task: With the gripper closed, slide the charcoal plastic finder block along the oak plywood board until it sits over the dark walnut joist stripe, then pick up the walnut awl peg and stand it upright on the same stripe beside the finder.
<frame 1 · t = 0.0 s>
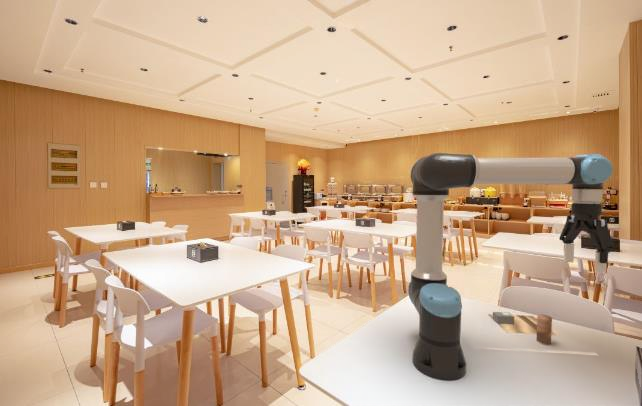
hand: (583, 267, 100), 28 cm above the table, fingers open, 13 cm apart
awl: (543, 345, 104), on the table
board: (520, 326, 118), on the table
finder: (503, 321, 119), point 1 cm above the table, touching board
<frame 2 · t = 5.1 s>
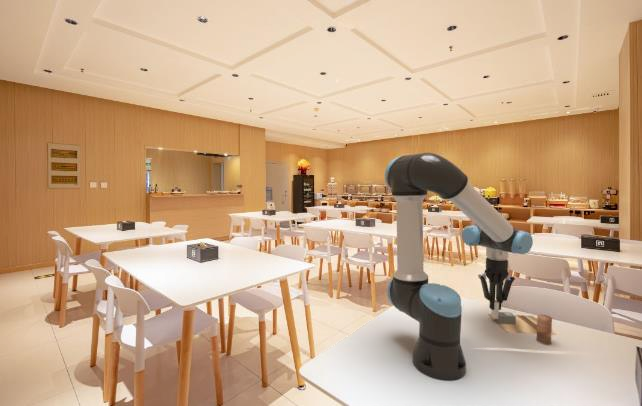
hand: (494, 317, 120), 3 cm above the table, fingers closed
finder: (504, 321, 119), point 1 cm above the table, touching board, gripper
everything else where it was.
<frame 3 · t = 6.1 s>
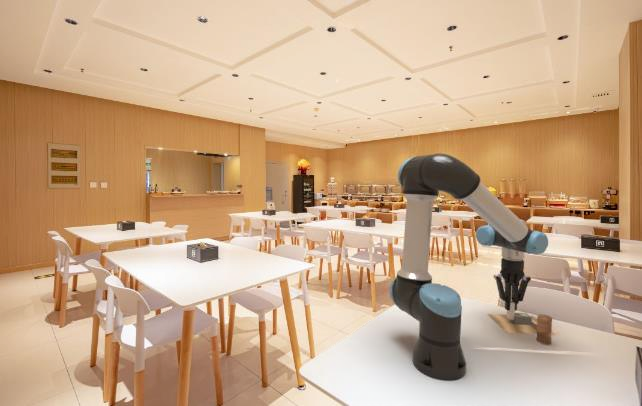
hand: (510, 318, 119), 3 cm above the table, fingers closed
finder: (520, 322, 119), point 1 cm above the table, touching gripper
everything else where it was.
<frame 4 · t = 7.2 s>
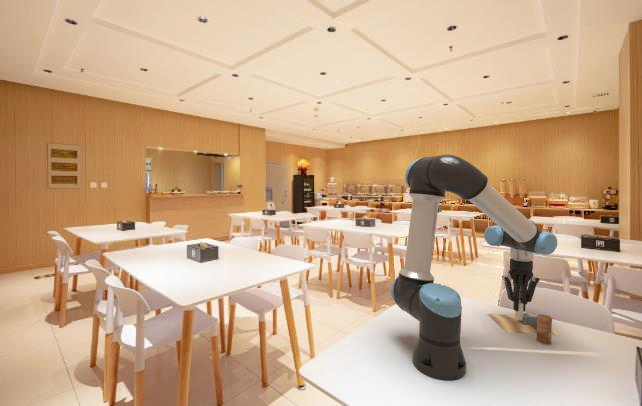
hand: (518, 318, 119), 3 cm above the table, fingers closed
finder: (528, 322, 118), point 1 cm above the table, touching board, gripper
everything else where it was.
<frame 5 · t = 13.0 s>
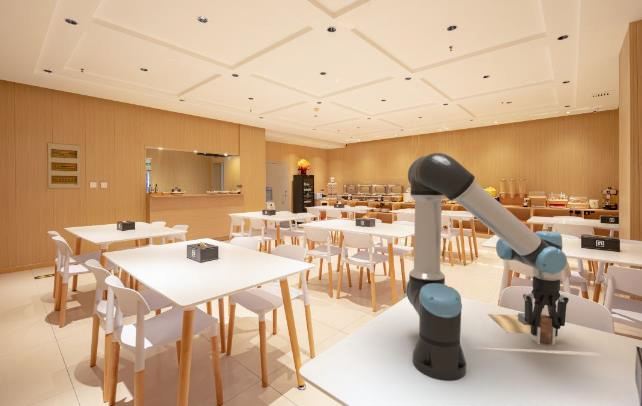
hand: (543, 344, 104), 0 cm above the table, fingers closed on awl, 4 cm apart
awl: (543, 345, 104), on the table, touching gripper
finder: (528, 322, 118), point 1 cm above the table, touching board
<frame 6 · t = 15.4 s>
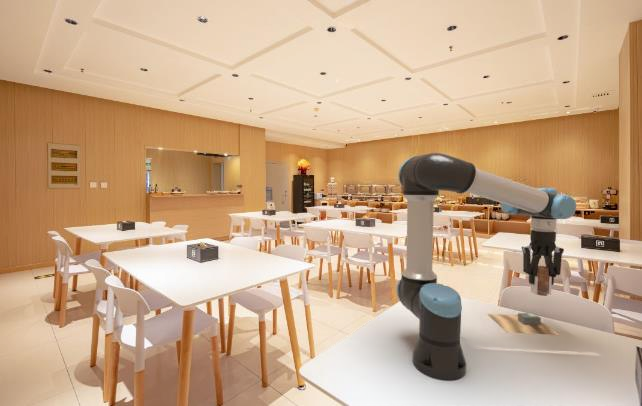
hand: (540, 292, 112), 15 cm above the table, fingers closed on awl, 4 cm apart
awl: (540, 293, 112), point 15 cm above the table, touching gripper
everything else where it was.
when the fingers open (3 cm above the table, at t = 18.1 s): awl drops 1 cm, resting on board.
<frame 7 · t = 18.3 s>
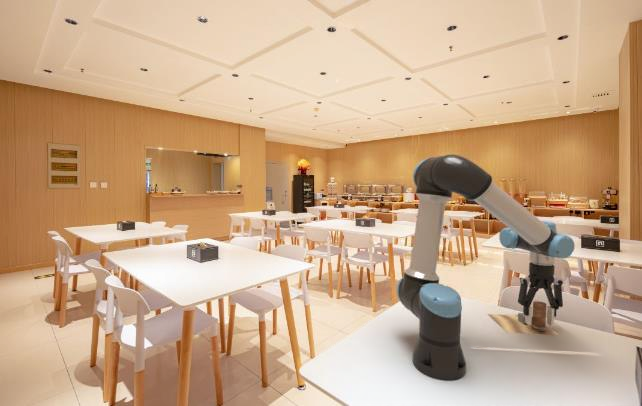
hand: (539, 324, 113), 3 cm above the table, fingers open, 7 cm apart
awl: (538, 329, 113), point 1 cm above the table, touching board
everything else where it was.
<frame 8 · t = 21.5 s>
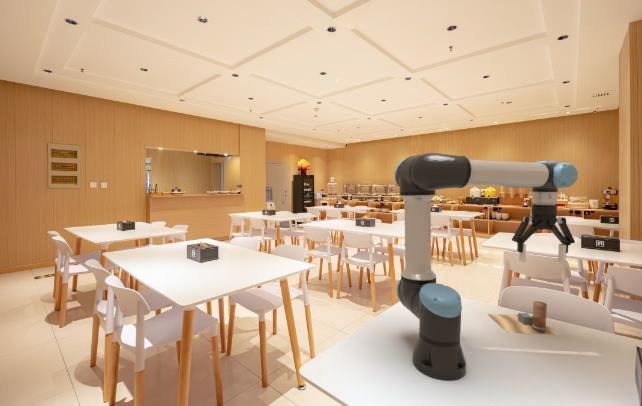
hand: (541, 261, 112), 27 cm above the table, fingers open, 13 cm apart
nothing on the table moved.
at the end: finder inside the target area (0.9 cm from its centre), point 1.2 cm above the table; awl 0.0 cm from the target spot, point 1.2 cm above the table; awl tilted 0° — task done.
